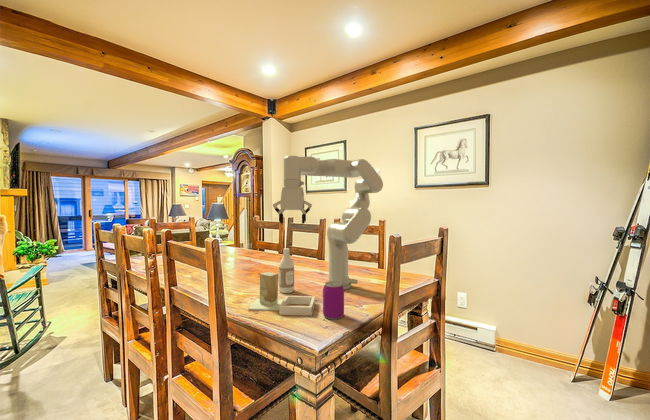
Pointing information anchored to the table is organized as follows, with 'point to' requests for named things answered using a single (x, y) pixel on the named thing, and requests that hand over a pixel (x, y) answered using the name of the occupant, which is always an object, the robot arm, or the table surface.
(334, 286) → the beverage can
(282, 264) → the bath foam
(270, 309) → the mat
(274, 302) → the skincare box
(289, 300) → the collar
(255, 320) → the table surface
